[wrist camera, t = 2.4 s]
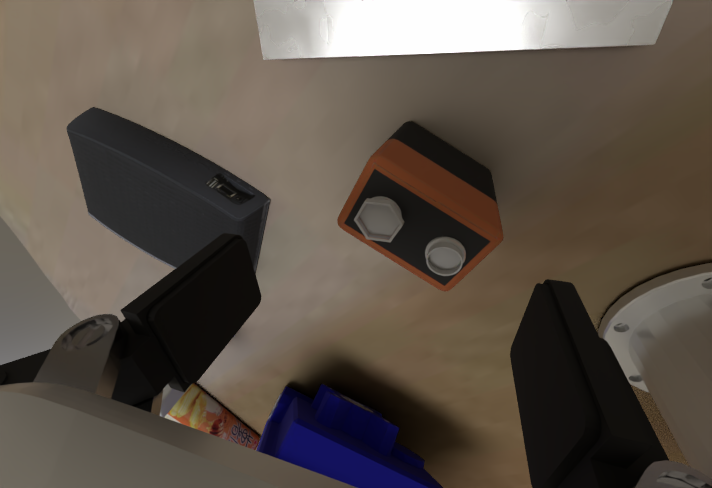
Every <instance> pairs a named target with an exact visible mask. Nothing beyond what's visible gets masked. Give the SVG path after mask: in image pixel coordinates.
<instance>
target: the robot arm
mask: <svg viewBox="0 0 712 488" xmlns="http://www.w3.org/2000/svg"><path fill="white" fill-rule="evenodd" d="M260 301H261V293H260V290H259V286H258V282H257V279H256V275H255V271H254V268H253V264H252V261H251V257H250V253H249V250H248V246H247V243H246V241H245V240H243V238H242V236H240V235H236V234H229V233H223V234H221V235H220V236H219V237H217V238H216V239H215V240H213V241H212V242H211V243H209V244H208V245H207V246H205V247H204V248H203V249H201V250H200V251H199V252H197V253H196V254H195V255H193V256H192V257H191V258H189V259H188V260H187V261H185V262H184V263H183V264H181V265H180V266H179V267H177V268H176V269H175V270H173V271H172V272H171V273H169V274H168V275H167V276H165V277H164V278H163V279H161V280H160V281H159V282H157V283H156V284H155V285H153V286H152V287H151V288H149V289H148V290H147V291H145V292H144V293H143V294H141V295H140V296H139V297H137V298H136V299H135V300H133V301H132V302H131V303H129V304H128V305H127V306H125V307H124V308H123V309H121V312H122V313H123V315H124V317H125V318H126V319H125V320H123V321H122V322H120V320H119V319H118V317H117V316H115V315H112V314H102V315H96V316H93V317H90V318H87V319H85V320H83V321H81V322H79V323H77V324H75V325H73V326H72V327H70V328H69V329H67V330H66V331H65V332H64V333H63V334H61V335H60V337H59V338H58V339H57V340H56V342H55V343H54V345H53V347H52V348H51V349H49V350H47V351H44V352H40V353H37V354H34V355H31V356H28V357H25V358H22V359H19V360H15V361H12V362H9V363H6V364H3V365H0V488H357V487H354V486H351V485H349V484H346V483H343V482H341V481H338V480H335V479H332V478H330V477H327V476H324V475H322V474H319V473H316V472H313V471H311V470H308V469H305V468H302V467H300V466H297V465H294V464H291V463H289V462H286V461H283V460H280V459H278V458H275V457H272V456H269V455H267V454H264V453H261V452H258V451H256V450H253V449H250V448H247V447H245V446H242V445H239V444H236V443H234V442H231V441H228V440H225V439H222V438H220V437H217V436H214V435H211V434H209V433H206V432H203V431H200V430H198V429H195V428H192V427H189V426H186V425H183V424H181V423H178V422H175V421H172V420H169V419H167V418H164V417H161V416H160V411H161V404H162V396H163V389H164V387H165V386H166V385H167V384H169V386H170V388H172V389H175V390H178V391H181V392H184V393H185V392H186V390H187V389H188V388H189V387H190V385H191V384H193V383H195V382H197V381H198V380H199V379H200V377H201V376H202V375H203V374H204V372H205V371H206V370H207V369H208V367H209V366H210V365H211V364H212V362H213V361H214V360H215V359H216V358H217V356H218V355H219V354H220V353H221V351H222V350H223V349H224V348H225V346H226V345H227V344H228V343H229V341H230V340H231V339H232V338H233V336H234V335H235V334H236V333H237V331H238V330H239V329H240V328H241V326H242V325H243V324H244V323H245V322H246V320H247V319H248V318H249V317H250V315H251V314H252V313H253V312H254V310H255V309H256V308H257V307H258V305H259V304H260ZM510 357H511V364H512V370H513V376H514V382H515V388H516V395H517V401H518V407H519V413H520V419H521V425H522V431H523V437H524V443H525V449H526V455H527V461H528V467H529V473H530V479H531V484H532V487H533V488H712V263H707V264H702V265H697V266H693V267H688V268H684V269H680V270H677V271H674V272H671V273H668V274H665V275H662V276H659V277H656V278H654V279H652V280H650V281H648V282H646V283H644V284H641V285H639V286H637V287H636V288H634V289H633V290H631V291H630V292H628V293H627V294H625V295H624V296H622V297H621V298H620V299H619V300H618V301H617V302H616V303H615V304H614V305H612V306H611V307H610V308H609V310H608V311H607V313H606V314H605V316H604V317H603V319H602V321H601V324H600V327H599V330H598V333H597V331H596V329H595V327H594V325H593V323H592V321H591V319H590V317H589V315H588V313H587V311H586V309H585V307H584V305H583V303H582V301H581V299H580V297H579V295H578V293H577V291H576V289H575V287H574V285H573V284H572V283H570V282H563V281H556V280H549V279H547V280H545V281H544V283H543V284H540V283H538V284H536V286H535V288H534V291H533V293H532V296H531V298H530V301H529V303H528V306H527V308H526V311H525V313H524V316H523V318H522V321H521V323H520V326H519V329H518V331H517V334H516V336H515V339H514V341H513V344H512V347H511V353H510ZM630 384H631V385H633V386H635V387H637V388H639V389H641V390H643V391H646V392H649V393H650V395H651V396H652V398H653V400H654V402H655V404H656V406H657V407H658V409H659V411H660V413H661V415H662V417H663V418H664V420H665V422H666V424H667V426H668V428H669V430H670V431H671V433H672V435H673V437H674V439H675V441H676V442H677V444H678V446H679V448H680V450H681V452H682V454H683V455H684V457H685V459H686V461H687V463H688V465H689V466H690V467H689V466H687V465H684V464H682V463H678V462H672V461H669V459H668V457H667V455H666V453H665V451H664V449H663V447H662V446H661V444H660V442H659V440H658V438H657V436H656V434H655V432H654V430H653V428H652V426H651V424H650V422H649V420H648V418H647V416H646V414H645V412H644V411H643V409H642V407H641V405H640V403H639V401H638V399H637V397H636V395H635V393H634V391H633V389H632V387H631V385H630Z"/></svg>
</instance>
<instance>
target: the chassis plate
mask: <svg viewBox="0 0 712 488" xmlns="http://www.w3.org/2000/svg"><path fill="white" fill-rule="evenodd" d="M672 3H673V0H254V6H255V12H256V18H257V24H258V30H259V36H260V42H261V48H262V54H263V60H283V59H310V58H336V57H362V56H389V55H415V54H441V53H468V52H494V51H520V50H547V49H573V48H599V47H626V46H642V45H655V42H656V40H657V38H658V35H659V33H660V31H661V28H662V26H663V24H664V21H665V19H666V17H667V14H668V12H669V10H670V7H671V5H672Z"/></svg>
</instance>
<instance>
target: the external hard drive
mask: <svg viewBox="0 0 712 488" xmlns="http://www.w3.org/2000/svg"><path fill="white" fill-rule="evenodd" d="M67 132H68V136H69V139H70V143H71V146H72V149H73V153H74V157H75V161H76V165H77V169H78V172H79V177H80V181H81V184H82V189H83V192H84V197H85V200H86V205H87V208H88V214H89V215H90V216H91V217H92V218H94V219H95V220H96V221H98V222H99V223H100V224H102V225H103V226H104V227H106V228H107V229H109V230H110V231H111V232H113V233H114V234H116V235H117V236H119V237H120V238H122V239H124V240H125V241H127V242H128V243H130V244H132V245H133V246H135V247H136V248H138V249H140V250H141V251H143V252H145V253H146V254H148V255H150V256H152V257H154V258H155V259H157V260H159V261H161V262H163V263H165V264H167V265H169V266H171V267H172V268H175V269H176V268H177V267H179V266H180V265H181V264H183V263H184V262H185V261H187V260H188V259H189V258H191V257H192V256H193V255H195V254H196V253H197V252H199V251H200V250H201V249H203V248H204V247H205V246H207V245H208V244H209V243H211V242H212V241H213V240H215V239H216V238H217V237H219V236H220V235H221V234H223V233H229V234H236V235H240V236H242V238H243V240H245V241H246V243H247V246H248V250H249V253H250V257H251V261H252V264H253V268H254V271H255V272H256V267H257V262H258V258H259V253H260V248H261V243H262V238H263V233H264V228H265V223H266V218H267V213H268V208H269V203H270V199H269V198H267V197H266V196H265V195H264V194H263V193H262V192H260V191H258V190H257V189H255V188H254V187H252V186H251V185H249V184H248V183H246V182H244V181H243V180H241V179H240V178H238V177H236V176H235V175H233V174H232V173H230V172H228V171H226V170H225V169H223V168H221V167H220V166H218V165H216V164H215V163H213V162H211V161H209V160H207V159H206V158H204V157H202V156H200V155H198V154H196V153H195V152H193V151H191V150H189V149H187V148H185V147H183V146H181V145H179V144H178V143H176V142H174V141H172V140H170V139H168V138H166V137H163V136H161V135H159V134H157V133H155V132H153V131H151V130H149V129H147V128H144V127H142V126H140V125H138V124H136V123H133V122H131V121H129V120H126V119H124V118H122V117H119V116H117V115H114V114H112V113H109V112H106V111H104V110H101V109H98V108H95V107H93V108H90V109H89V110H87V111H85V112H84V113H82V114H81V115H79V116H78V117H77V118H75V119H74V120H73V121H72V122H71V123H70V124H69V125H68V126H67Z"/></svg>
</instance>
